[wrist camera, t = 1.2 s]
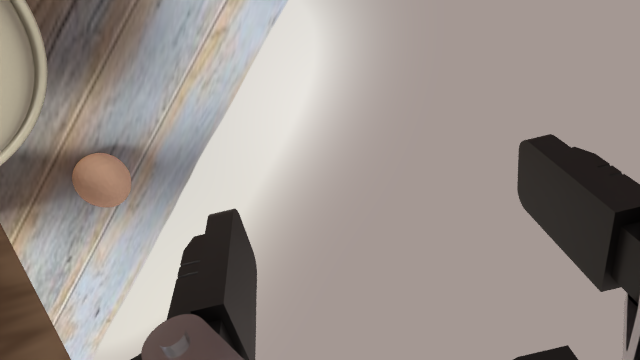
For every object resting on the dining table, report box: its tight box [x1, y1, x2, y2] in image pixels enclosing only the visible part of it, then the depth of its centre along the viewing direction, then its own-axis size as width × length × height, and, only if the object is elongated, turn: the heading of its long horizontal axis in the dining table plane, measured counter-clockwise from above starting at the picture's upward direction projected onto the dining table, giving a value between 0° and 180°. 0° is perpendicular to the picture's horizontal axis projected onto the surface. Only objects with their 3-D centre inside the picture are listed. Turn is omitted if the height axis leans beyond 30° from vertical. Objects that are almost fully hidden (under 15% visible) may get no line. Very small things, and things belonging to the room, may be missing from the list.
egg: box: [72, 153, 131, 207], centre depth 49 cm, size 6×6×8 cm
